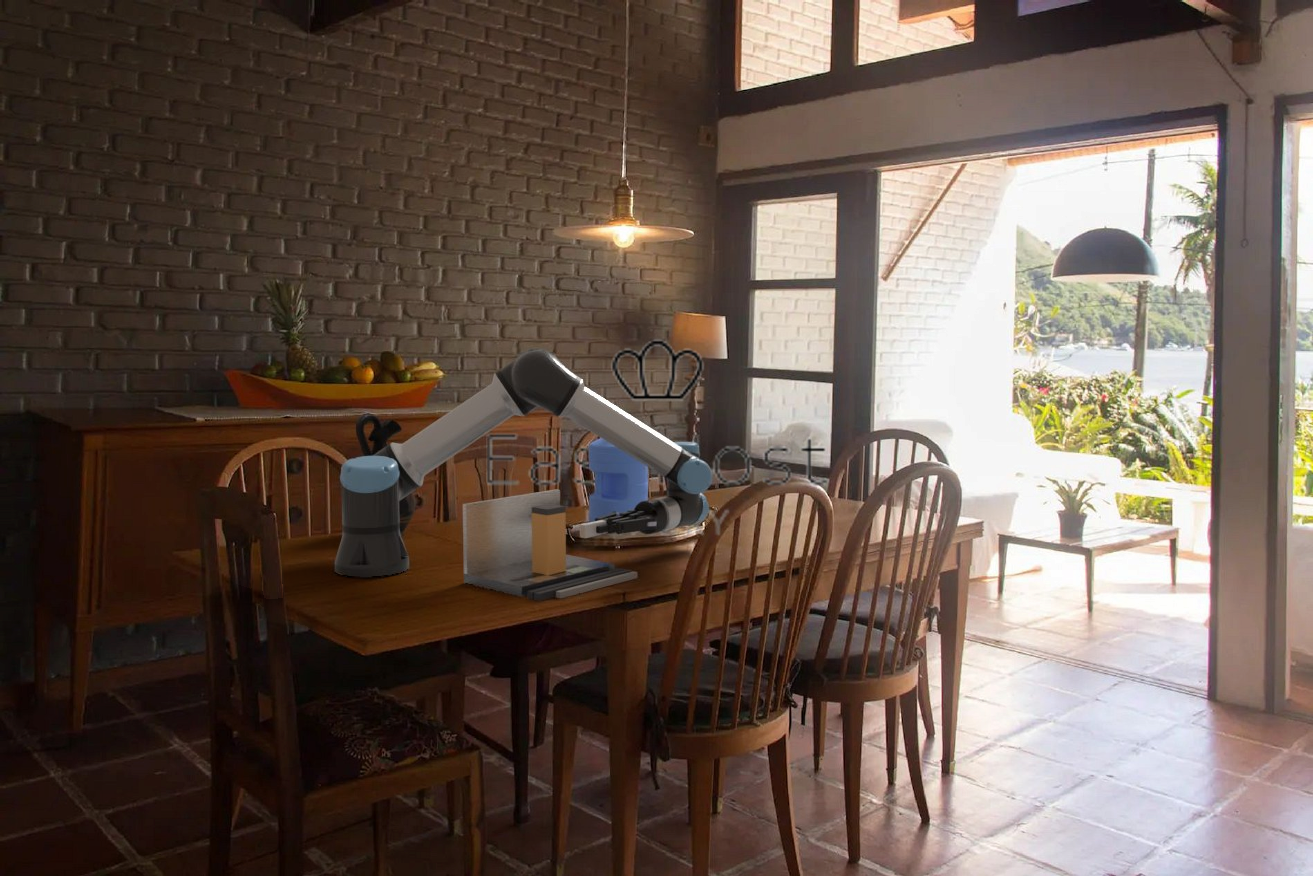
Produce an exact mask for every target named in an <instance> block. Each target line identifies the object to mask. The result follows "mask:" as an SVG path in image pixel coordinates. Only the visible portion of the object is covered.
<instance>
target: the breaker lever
mask: <svg viewBox="0 0 1313 876" xmlns="http://www.w3.org/2000/svg"><path fill="white" fill-rule="evenodd" d="M566 508H567V507H566V506H564V505H561V504H560V505H554V504H546V505H540V506H534V507H532V572H535V573H539V574H544V575H552V574H556V573H560V572H564V571H566V555H567V547H566V546H567V543H566V542H567V535H566V533H567V532H566V530H567V529H566V526H567V525H566V524H567V523H566V520H567V519H566V516H567V513H566V512H567V511H566V510H567V509H566Z"/></svg>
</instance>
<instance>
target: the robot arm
mask: <svg viewBox="0 0 1313 876" xmlns="http://www.w3.org/2000/svg"><path fill="white" fill-rule="evenodd" d="M538 407H539V408H541V409H542V410H543V409H544V410H545V411H547V412H549V413H551V414H553V415H554V416H556V417H558V418H564V417H566V418H568V419H570V420H571V421H572V422H574V423H576V424H577V425H579V426H581V427H583V428H585V429H586V430H588V431H589V432H590V433H592V434H593V435H596V436H597V437H599V439H600V438H602V439H604V440H605V441H607V442H608V443H610V444H612V445H613V446H615V447H617V448H618V449H620V450H621V451H623V452H625V453H626V454H628V455H629V456H631V457H633V458H634V459H636V460H638V461H639V462H641V463H642V464H644V465H646V466H647V467H648V468H649V469H650V470H652V471H653V472H655V473H657V474H658V475H660V476H662V477H663V478H665V479H666V496H661V497H656V498H653V499H652V498H651V499H648V500H646V501H642V502H640V503H638V504H637V505H636V507H635V509H634V510H628V511H627V512H624V513H620V514H619V513H617V512H616V511H613V512H611V513H610V514H607V515H604V516H601V517H598V518H595V522H590V521H589V522H585V523H581V524H579V538H582V539H587V538H592V537H596V536H604V535H606V534H607V533H608V534H617V535H621V534H622V535H623V534H627V533H636V532H640V533H642V534H643V535H653V534H657V533H660V532H662V533H663V534H666V533H667V531H669V530H673V529H679V528H682V527H687V526H688V527H690V526H693V525H696V524H698V523H702V522H703V521H704V520H706V518H707V516H708V514H709V510H710V509H709V508H710V507H709V505H710V504H709V503H708V499H707V497H706V495H704V494H703V493H705V491H707V490H708V488H710V487H711V484H712V482H713V472H712V469H711V467H710V466H709V464H708V462H706V461H704V460H703V459H701V458H700V457H701V453H700V445H699V444H698V443H697V442H694V441H674V442H673V440H671V439H669V438H668V437H666V436H664V435H662V434H661V433H660V432H658V431H656V430H655V429H653V428H651V427H650V426H649V425H647V424H645V423H643V422H642V421H640V420H639V419H638V418H636V417H634V416H633V415H631V414H630V413H628V412H626V411H625V410H623V409H621V408H619V406H617V405H616V404H613V403H612V402H610V401H609V400H607V399H605V398H604V397H602V396H601V395H599V394H597V392H594V391H593V390H591V389H590V388H588V387H586V385H585V383H584V380H583V378H581V377H579V376H578V375H576V374H575V373H573V372H572V371H571V370H570V369H569V368H568V367H566V366H565V365H564V364H563V363H562V362H561V361H560V360H559V359H558V357H556V355H554V354H553V353H552V352H550V351H548V350H545V349H540V348H533V349H528V350H525V351H523V352H522V353H520V354H519V355H517V357H516V358H514V360H511V362H509V363H508V364H506V365H505V366H503V367H502V368H500V369H499V370H497V371H496V372H494V373H493V378H492V382H491V383H490V384H489V385H487V386H486V387H485V388H483V389H482V390H480V391H478V392H477V393H475V394H474V395H472V396H471V397H469V398H468V399H466V400H465V401H464V402H462V403H461V404H459V405H458V406H455V408H453V409H452V410H451V411H449V412H448V413H446V414H444V415H442V416H441V417H439V418H438V419H437V420H436V421H434V422H433V423H431V424H430V425H428V426H427V427H425V428H424V429H422V430H421V431H419V432H418V433H416V434H415V435H413V436H412V437H410V438H409V439H408V440H405V441H404V442H403V443H397V442H390V443H388V444H387V446H386V447H385V448H383V449H382V450H380V451H379V452H377V453H376V454H374V455H373V456H364V455H362V456H357V457H355V458H349V459H347V460H346V461H344V462H343V463H342V465H341V468H340V476H339V479H340V480H339V481H340V484H341V485H340V487H341V488H340V489H341V491H340V492H341V494H340V495H341V518H342V519H341V525H342V536H341V540H340V543H339V546H338V550H337V553H336V556H335V559H334V572H336V573H340V574H342V575H349V576H360V577H359V578H373V577H372V576H381V577H383V576H382V575H388V576H393V575H392V574H394V575H396V574H395V573H398V574H401V572H402V573H404V572H406V571H408V570H409V569H410V557H409V555H408V551H407V548H406V546H405V542H404V540H403V538H402V537H403V536H401V534H400V516H399V501H400V500H401V499H403V498H404V497H406V496H407V495H409V494H410V493H412V492H415V491H416V490H418V489H419V488H420V487H422V486H423V483H424V479H425V476H426V475H428V474H429V473H430V472H432V471H433V470H435V469H436V468H438V467H440V466H441V465H442V464H444V463H445V462H446V461H448V460H449V459H451V458H452V457H454V456H455V455H457V454H458V453H460V452H462V451H463V450H464V449H466V448H467V447H469V446H470V445H471V444H473V443H474V442H476V441H477V440H479V439H481V438H482V437H483V436H485V435H487V434H488V433H489V432H491V431H492V430H494V429H495V428H497V427H498V426H500V425H501V424H503V423H504V422H505V421H507V420H509V419H510V418H512V417H514V416H520V417H525V416H527V415H528V414H530V413H531V412H532V411H534V410H535V409H537V408H538ZM407 569H408V570H407ZM403 571H404V572H403ZM336 573H335V574H336ZM342 575H341V576H342Z"/></svg>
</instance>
